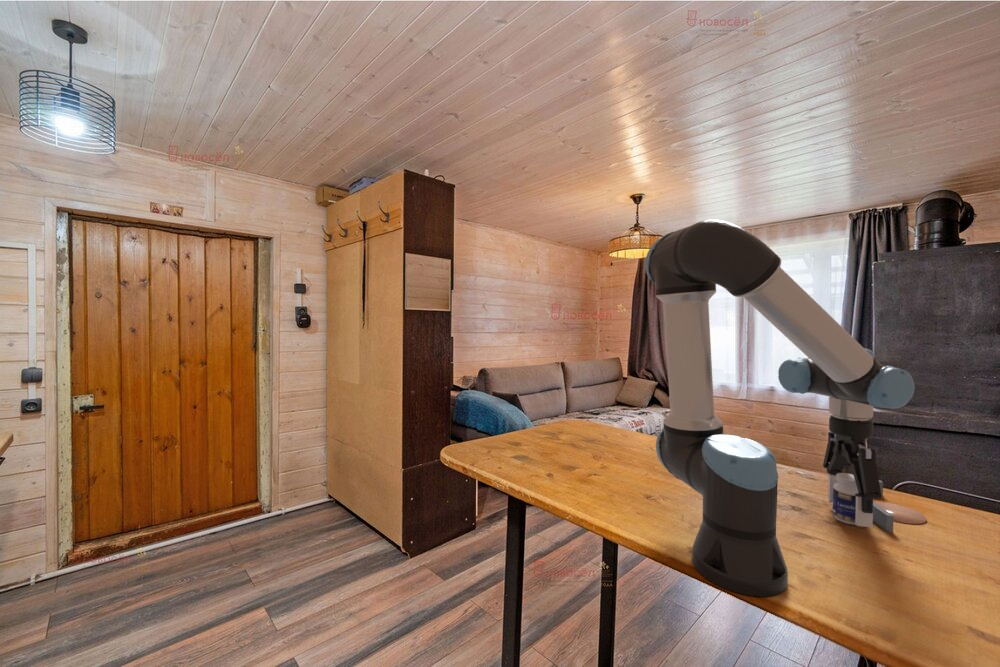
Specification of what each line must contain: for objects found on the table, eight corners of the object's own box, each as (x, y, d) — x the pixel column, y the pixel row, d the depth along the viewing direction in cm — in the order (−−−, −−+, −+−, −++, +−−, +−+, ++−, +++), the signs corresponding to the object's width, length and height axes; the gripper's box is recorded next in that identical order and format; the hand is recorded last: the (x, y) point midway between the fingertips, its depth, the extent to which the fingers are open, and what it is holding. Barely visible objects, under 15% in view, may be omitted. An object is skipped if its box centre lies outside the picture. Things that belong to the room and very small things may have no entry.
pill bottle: (835, 522, 92) (836, 478, 91) (829, 511, 97) (830, 470, 96) (869, 528, 89) (870, 483, 89) (861, 517, 94) (862, 474, 94)
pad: (938, 526, 90) (938, 524, 90) (883, 521, 92) (883, 519, 92) (906, 505, 99) (906, 504, 99) (857, 501, 102) (857, 500, 102)
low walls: (945, 537, 85) (946, 520, 85) (886, 531, 88) (886, 515, 88) (879, 493, 106) (880, 480, 106) (833, 489, 109) (833, 476, 109)
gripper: (907, 432, 80) (904, 542, 81) (842, 406, 102) (840, 493, 103) (861, 429, 82) (859, 538, 83) (807, 405, 104) (805, 490, 105)
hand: (848, 513), depth 93 cm, fingers open, 11 cm apart
